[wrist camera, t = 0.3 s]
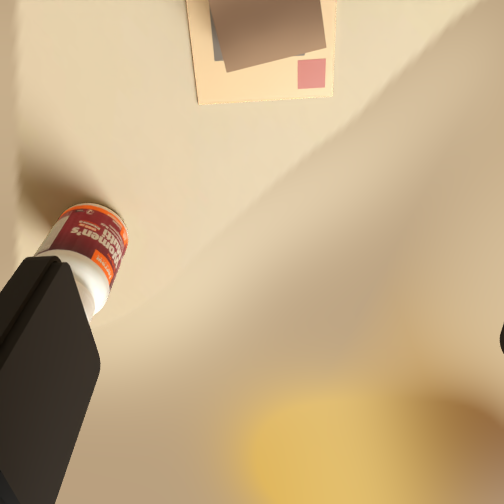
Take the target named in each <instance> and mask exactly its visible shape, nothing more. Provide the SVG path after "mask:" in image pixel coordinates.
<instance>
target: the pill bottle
mask: <svg viewBox="0 0 504 504" xmlns="http://www.w3.org/2000/svg"><path fill="white" fill-rule="evenodd" d="M128 238H129V237H128V231H127V228H126V226H125V224H124V222H123V221H122V219H121V218H120V217H119V216H118V215H117V214H116V213H115V212H113V211H112V210H110V209H108V208H106V207H104V206H102V205H99V204H94V203H82V204H77V205H74V206H71V207H70V208H68V209H67V210H65V211H64V212H63V213H62V215H61V216H60V217H59V219H58V220H57V222H56V223H55V225H54V226H53V227H52V229H51V231H50V232H49V234H48V235H47V237H46V238H45V240H44V241H43V243H42V244H41V246H40V247H39V249H38V250H37V252H36V253H35V255H34V256H33V257H39V256H57V257H59V258H60V260H61V262H67V263H68V264H69V265H70V267H71V270H72V273H73V276H74V279H75V282H76V285H77V288H78V291H79V294H80V298H81V301H82V304H83V307H84V310H85V313H86V316H87V319H88V322H89V324H90V321H91V319H92V317H93V315H95V314H96V313H97V312H99V311H100V310H101V309H102V307H103V306H104V304H105V303H106V300H107V298H108V296H109V293H110V290H111V288H112V285H113V282H114V280H115V277H116V274H117V272H118V269H119V267H120V264H121V262H122V259H123V256H124V254H125V251H126V248H127V245H128Z"/></svg>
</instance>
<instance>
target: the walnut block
mask: <svg viewBox="0 0 504 504" xmlns="http://www.w3.org/2000/svg"><path fill="white" fill-rule="evenodd" d="M208 1H209V5H210V9H211V13H212V17H213V21H214V25H215V29H216V33H217V37H218V40H219V44H220V48H221V52H222V56H223V60H224V64H225V68H226V72H227V73H228V72H232V71H236V70H240V69H244V68H248V67H252V66H256V65H260V64H264V63H268V62H272V61H276V60H280V59H284V58H288V57H292V56H296V55H300V54H304V53H308V52H312V51H316V50H320V49H323V48H327V47H326V39H325V32H324V25H323V17H322V10H321V2H320V0H208Z"/></svg>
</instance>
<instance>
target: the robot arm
mask: <svg viewBox="0 0 504 504" xmlns="http://www.w3.org/2000/svg"><path fill="white" fill-rule="evenodd" d="M500 345H501V349H502V351H503V353H504V325H503V328H502V331H501V334H500ZM99 372H100V358H99V353H98V350H97V347H96V344H95V341H94V338H93V335H92V332H91V329H90V326H89V322H88V319H87V316H86V313H85V310H84V307H83V304H82V301H81V298H80V294H79V291H78V288H77V285H76V282H75V279H74V276H73V273H72V270H71V267H70V265H69V264H68V263H67V262H61V260H60V258H59V257H57V256H39V257H27V258H25V259H24V260H23V262H22V263H21V264H20V266H19V267H18V269H17V270H16V271H15V273H14V274H13V276H12V277H11V278H10V280H9V281H8V282H7V284H6V285H5V287H4V288H3V290H2V291H1V292H0V504H55V501H56V499H57V496H58V493H59V490H60V487H61V484H62V481H63V478H64V475H65V472H66V469H67V466H68V464H69V460H70V457H71V455H72V452H73V449H74V446H75V443H76V440H77V437H78V434H79V431H80V428H81V426H82V423H83V420H84V417H85V414H86V411H87V408H88V405H89V402H90V399H91V396H92V393H93V390H94V387H95V385H96V381H97V379H98V375H99Z"/></svg>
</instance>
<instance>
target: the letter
mask: <svg viewBox="0 0 504 504" xmlns="http://www.w3.org/2000/svg"><path fill="white" fill-rule="evenodd" d="M320 2H321V10H322V17H323V25H324V32H325V39H326V47H327V48H323V49H320V50H316V51H312V52H308V53H304V54H300V55H296V56H292V57H288V58H284V59H280V60H276V61H272V62H268V63H264V64H260V65H256V66H252V67H248V68H244V69H240V70H236V71H232V72H228V73H227V72H226V68H225V64H224V60H223V56H222V52H221V48H220V44H219V40H218V37H217V33H216V29H215V25H214V21H213V17H212V13H211V9H210V5H209V1H208V0H186V4H187V12H188V21H189V29H190V37H191V46H192V54H193V62H194V71H195V79H196V88H197V96H198V104H199V105H205V104H221V103H237V102H253V101H269V100H286V99H302V98H318V97H333V78H334V53H335V28H336V4H337V0H320Z"/></svg>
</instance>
